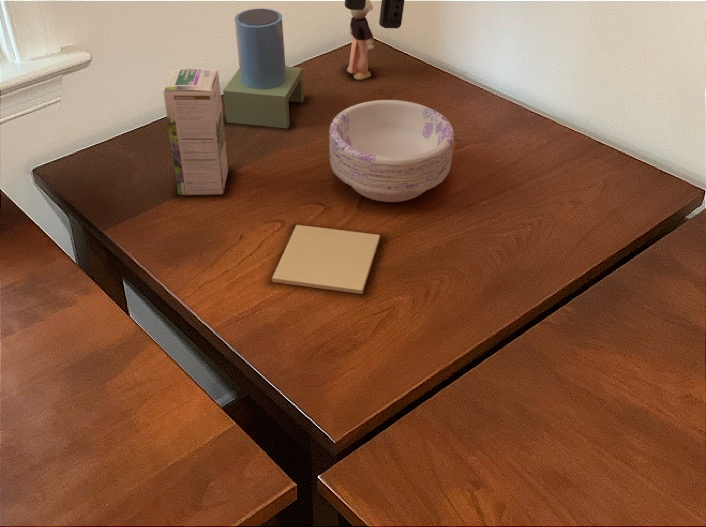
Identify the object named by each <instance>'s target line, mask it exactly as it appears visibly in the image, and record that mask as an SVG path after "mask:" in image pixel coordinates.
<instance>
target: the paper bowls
mask: <svg viewBox="0 0 706 527" xmlns="http://www.w3.org/2000/svg"><path fill="white" fill-rule="evenodd" d="M328 141H329V143H328V152H329V153H328V155H329V156H328V157H329V165H330V168H331V170H332V172H333V173H334V175H335V176H336V177H337V178H338V179H339V180H341V181H342V182H343V183H344V184H347V185H348V186H351V188H352V189H353V190H354V191H355V192H357V193H358V194H359V195H361V196H363V197H365V198H367V199H370V200H373V201H377V202H384V203H398V202H399V203H400V202H405V201H409V200H413V199H415V198H417V197H419V196H421V195H422V194H423V193H425V192H427V191H428V190H430V189H432V188H435V187H437V186H438V185H439V184H441V183H442V182H443V181H444V180H445V179H446V177H447V176H448V175H449V173H450V170H451V166H452V160H453V150H454V143H455V132H454V127H453V126H452V124H451V122H450V121H449V120H448V118H447V117H445V116H444V115H443V114H442V113H440V112H438V111H437V110H435V109H433V108H431V107H428V106H426V105H423V104H421V103H416V102H413V101H406V100H399V99H379V100H370V101H365V102H364V101H363V102H360V103H357V104H353V105H351V106H349V107H347V108H345V109H343V110H341V111H340V112H338V114H336V116H334V118H333V119H332V121H331V122H330V125H329V130H328Z"/></svg>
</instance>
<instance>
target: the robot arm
mask: <svg viewBox="0 0 706 527" xmlns="http://www.w3.org/2000/svg"><path fill="white" fill-rule="evenodd" d="M365 4H366V0H344V7H345V8H346V9H347V10H350V11H351V10H363V9H364V8H365ZM404 7H405V0H381V4H380V12H379V21H378V24H379V26H380V27H381V28H384V29H399V28H400V27H401V26H402V24H403V23H402V21H403V16H404V15H403V14H404V9H405V8H404Z"/></svg>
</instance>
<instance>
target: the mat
mask: <svg viewBox="0 0 706 527" xmlns="http://www.w3.org/2000/svg"><path fill="white" fill-rule="evenodd" d="M380 239H381V235H380V234H374V233H367V232H358V231H351V230H343V229H334V228H326V227H319V226H318V227H317V226H309V225H303V224H302V225H301V224H296V225H295V227H294V229H293V231H292V234H291V235H290V238H289V240H288V242H287V245H286V246H285V249H284V251H283V253H282V256H281V257H280V260H279V262H278V265H277V266H276V268H275V271H274V272H273V275H272V277H271V281H272V283H275V284H276V283H277V284H284V285H292V286H298V287H299V286H300V287H306V288H307V287H308V288H314V289H322V290H329V291H336V292H342V293H343V292H344V293H351V294H358V295H363V293H364V290H365V287H366V284H367V280H368V277H369V274H370V271H371V268H372V265H373V262H374V259H375V255H376V253H377V249H378V247H379V243H380Z"/></svg>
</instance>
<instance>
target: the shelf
mask: <svg viewBox="0 0 706 527" xmlns="http://www.w3.org/2000/svg"><path fill="white" fill-rule="evenodd" d="M285 67H286V80H285V82H284V83H283V84H281V85H279V86H277V87H274V88H269V89H253V88H249V87H247V86H245V85H243V84H242V82H241V77H240V67H239V68H238V69H237V71H236V72H235V73H234V75H233V76H232V78H230V80H229V81H228V83H227V85H225V87H224V89H223V90H222V94H223V102H224V110H225V111H224V112H225V119H226V123H229V124H239V125H248V126H249V125H250V126H257V127H267V128H277V129H278V128H279V129H287V130H288V128H289V127H290V125H291V122H290V107H289V106H290V105H289V102H293V103H301V104H302V103H303V101H304V100H305V92H304V73H303V72H304V71H303V70H304V68H303V67H296V66H285Z"/></svg>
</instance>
